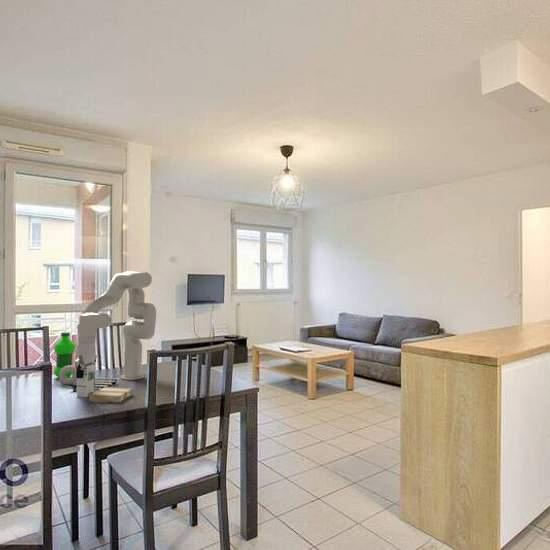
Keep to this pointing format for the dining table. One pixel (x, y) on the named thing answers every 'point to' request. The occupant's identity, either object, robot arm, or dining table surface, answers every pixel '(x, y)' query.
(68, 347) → the plastic bottle
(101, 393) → the beech base
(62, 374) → the donut
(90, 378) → the syrup box
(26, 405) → the dining table surface
